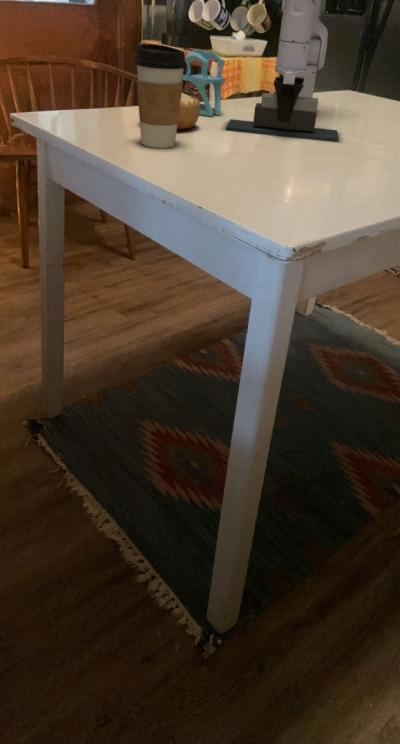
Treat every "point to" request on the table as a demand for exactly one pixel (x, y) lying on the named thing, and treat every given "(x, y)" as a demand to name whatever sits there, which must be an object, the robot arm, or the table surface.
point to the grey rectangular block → (300, 117)
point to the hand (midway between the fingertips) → (283, 119)
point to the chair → (206, 80)
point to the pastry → (188, 112)
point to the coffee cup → (159, 93)
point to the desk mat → (282, 131)
